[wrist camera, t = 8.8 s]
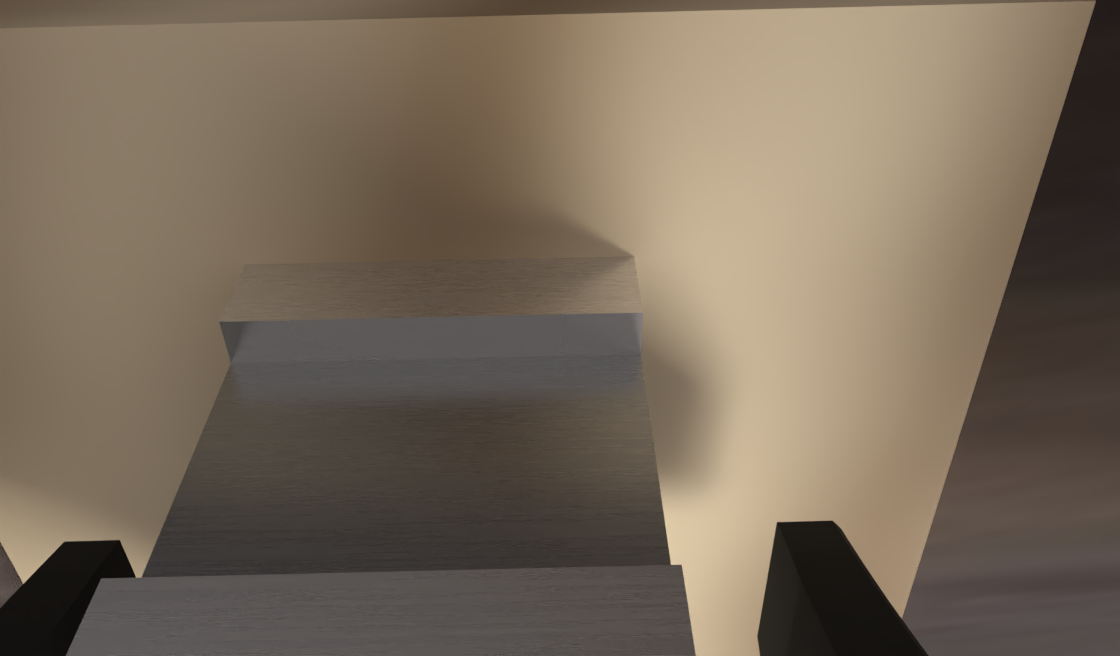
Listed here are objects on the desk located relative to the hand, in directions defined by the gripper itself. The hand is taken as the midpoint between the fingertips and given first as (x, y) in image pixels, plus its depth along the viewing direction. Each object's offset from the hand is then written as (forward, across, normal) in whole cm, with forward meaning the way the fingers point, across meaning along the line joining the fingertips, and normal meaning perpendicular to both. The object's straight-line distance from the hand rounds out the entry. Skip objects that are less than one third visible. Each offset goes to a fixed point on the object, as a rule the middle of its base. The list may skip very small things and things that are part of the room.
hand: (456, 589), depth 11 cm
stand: (+3, 0, 0) cm, 3 cm away
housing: (+1, 0, 0) cm, 1 cm away
